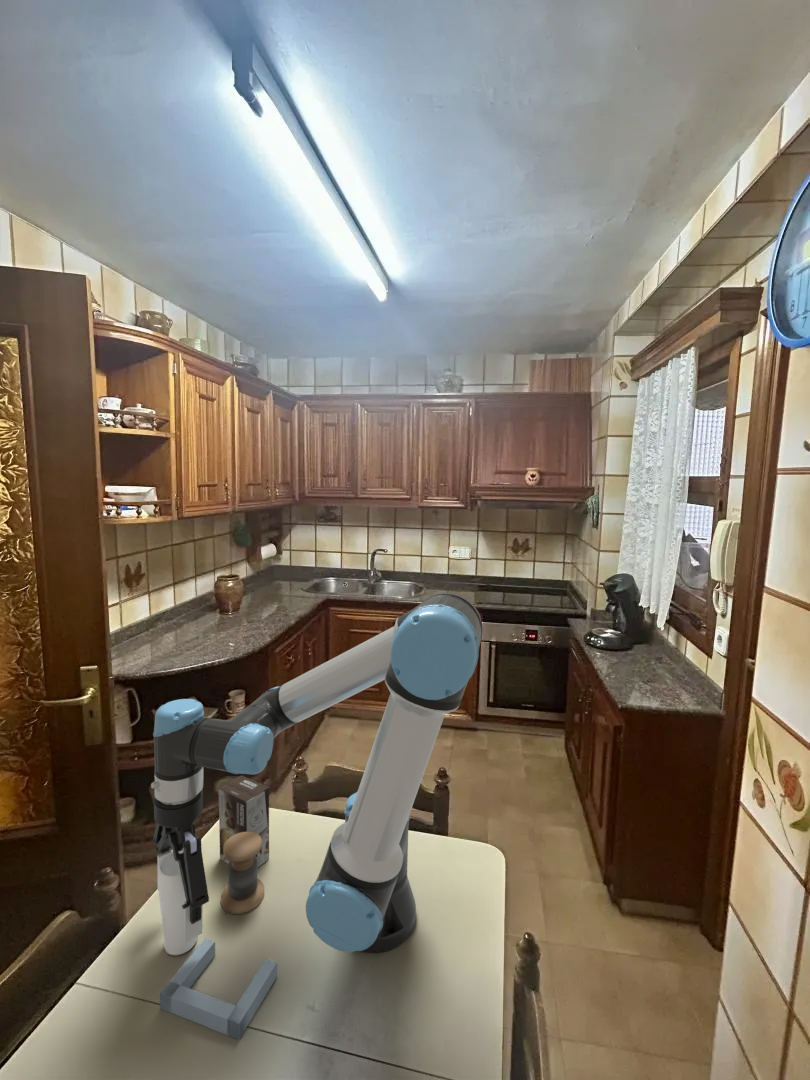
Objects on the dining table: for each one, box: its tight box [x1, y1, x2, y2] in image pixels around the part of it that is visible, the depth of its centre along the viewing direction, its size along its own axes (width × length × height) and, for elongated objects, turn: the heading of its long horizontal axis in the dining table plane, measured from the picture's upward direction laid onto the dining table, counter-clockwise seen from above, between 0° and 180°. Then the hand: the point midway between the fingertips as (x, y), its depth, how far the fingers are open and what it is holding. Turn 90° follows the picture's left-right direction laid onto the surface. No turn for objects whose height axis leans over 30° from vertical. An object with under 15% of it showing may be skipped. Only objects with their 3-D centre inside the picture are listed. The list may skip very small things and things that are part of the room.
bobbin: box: [220, 832, 265, 915], centre depth 96 cm, size 8×8×11 cm
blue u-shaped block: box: [159, 937, 278, 1041], centre depth 78 cm, size 14×10×2 cm
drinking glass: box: [157, 850, 199, 956], centre depth 85 cm, size 7×7×15 cm
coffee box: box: [218, 774, 270, 869], centre depth 106 cm, size 9×6×16 cm
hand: (178, 910), depth 86 cm, fingers open, 13 cm apart
